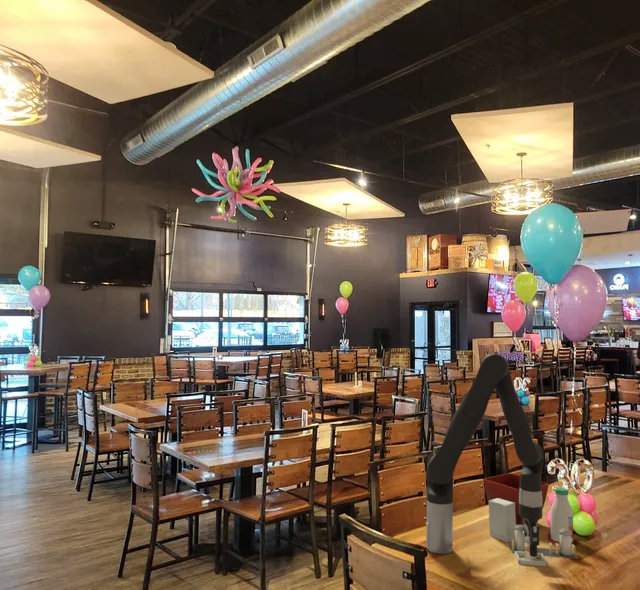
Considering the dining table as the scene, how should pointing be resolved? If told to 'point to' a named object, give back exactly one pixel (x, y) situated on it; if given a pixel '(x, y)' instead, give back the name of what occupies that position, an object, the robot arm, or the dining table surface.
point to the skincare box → (502, 519)
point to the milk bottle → (561, 514)
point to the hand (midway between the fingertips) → (530, 551)
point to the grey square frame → (530, 562)
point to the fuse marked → (528, 550)
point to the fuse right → (565, 542)
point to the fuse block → (550, 551)
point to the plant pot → (509, 491)
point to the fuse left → (519, 538)
